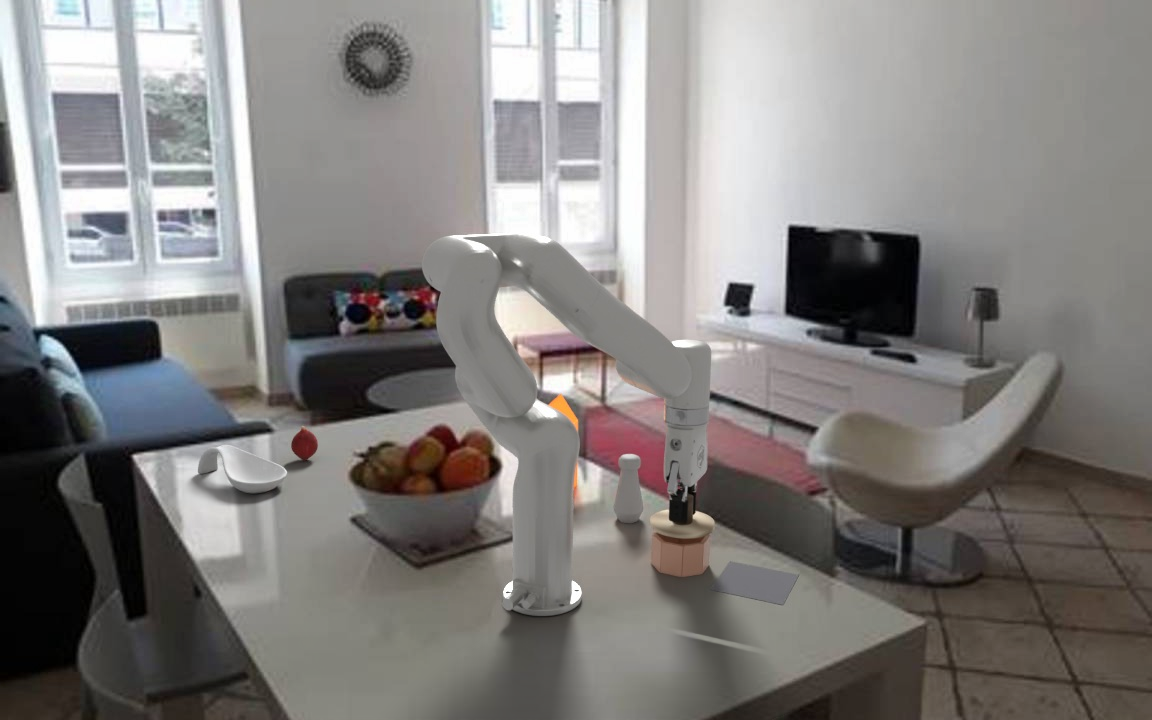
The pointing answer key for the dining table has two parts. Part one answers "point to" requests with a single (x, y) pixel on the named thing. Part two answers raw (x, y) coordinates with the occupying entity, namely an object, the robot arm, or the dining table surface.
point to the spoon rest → (243, 469)
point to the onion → (304, 444)
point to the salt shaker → (628, 490)
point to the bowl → (680, 554)
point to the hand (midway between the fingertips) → (682, 516)
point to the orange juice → (565, 409)
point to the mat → (755, 582)
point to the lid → (692, 529)
